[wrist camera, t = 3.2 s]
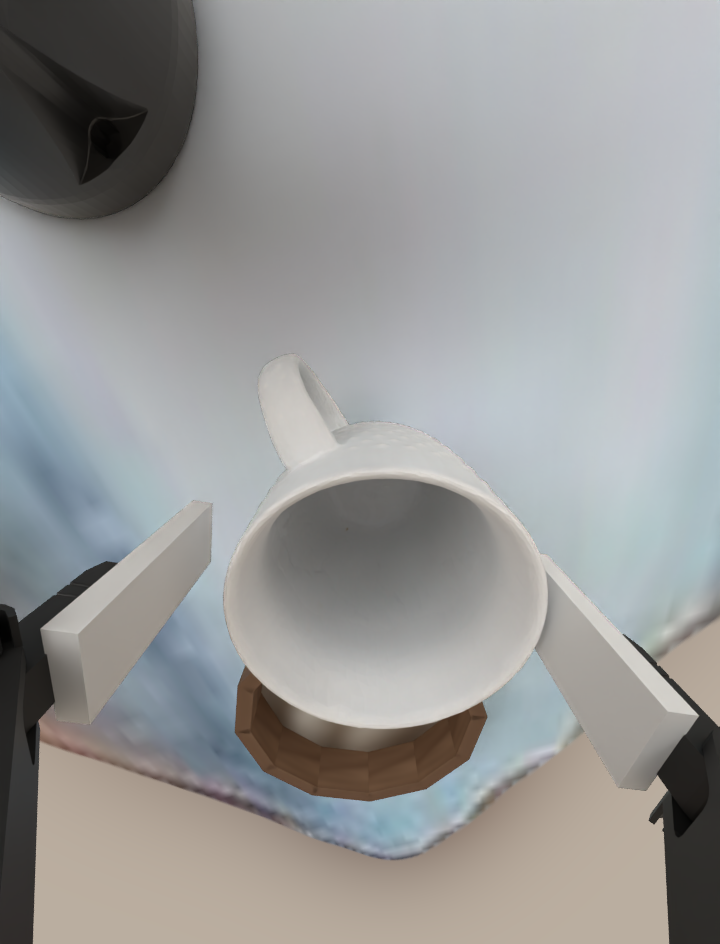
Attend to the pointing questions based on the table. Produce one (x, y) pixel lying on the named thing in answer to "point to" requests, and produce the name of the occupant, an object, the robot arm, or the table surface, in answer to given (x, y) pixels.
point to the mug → (377, 569)
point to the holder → (349, 747)
